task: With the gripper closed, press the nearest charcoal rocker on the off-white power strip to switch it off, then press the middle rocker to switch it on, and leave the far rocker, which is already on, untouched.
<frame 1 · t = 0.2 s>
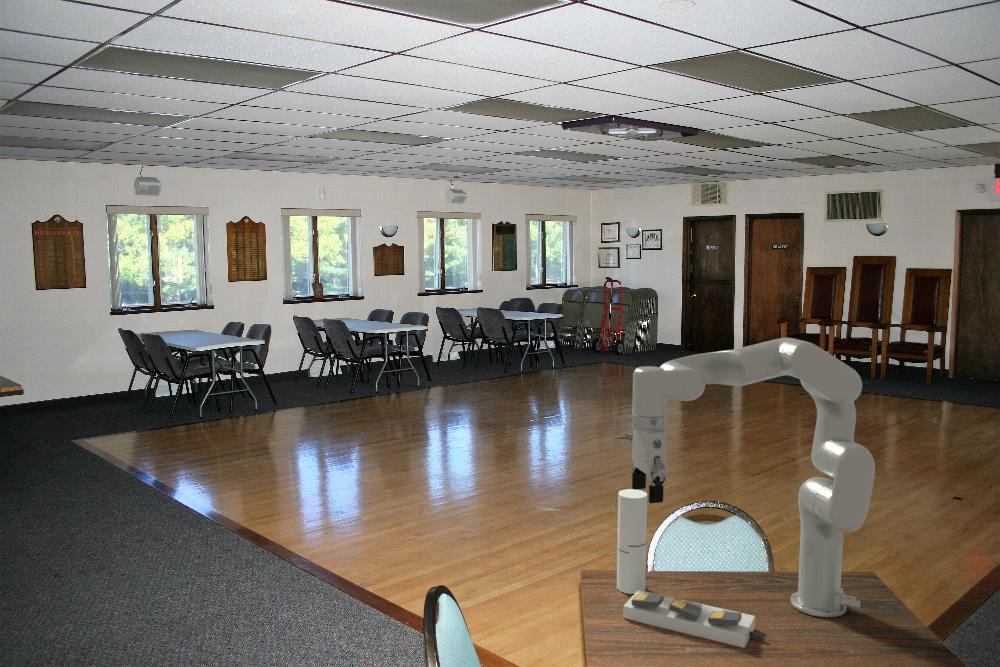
hand: (647, 495, 182), 31 cm above the table, tool pointing down, fingers open, 9 cm apart
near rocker: (724, 618, 179), point 5 cm above the table, hinge at 10.0°
far rocker: (647, 600, 188), point 5 cm above the table, hinge at 10.0°
power strip: (687, 623, 186), on the table
middle rocker: (685, 608, 184), point 5 cm above the table, hinge at -10.0°
cylindrical container: (630, 589, 205), on the table
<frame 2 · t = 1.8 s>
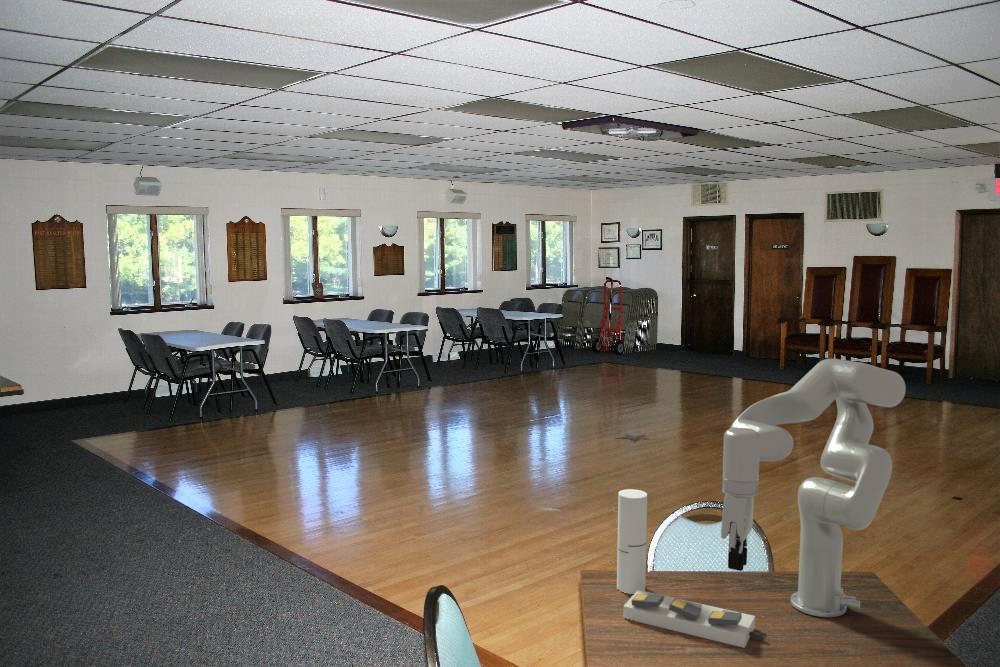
hand: (737, 565, 176), 17 cm above the table, tool pointing down, fingers closed
nothing on the table moved.
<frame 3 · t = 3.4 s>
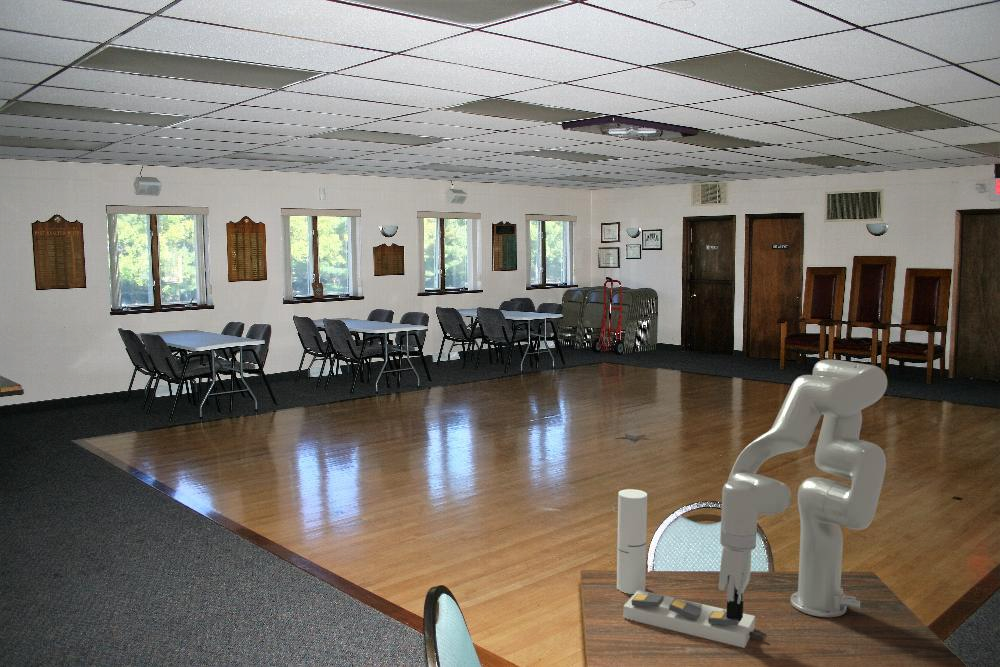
hand: (734, 618, 178), 5 cm above the table, tool pointing down, fingers closed
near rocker: (724, 618, 179), point 5 cm above the table, hinge at 9.8°, touching gripper
everything else where it was.
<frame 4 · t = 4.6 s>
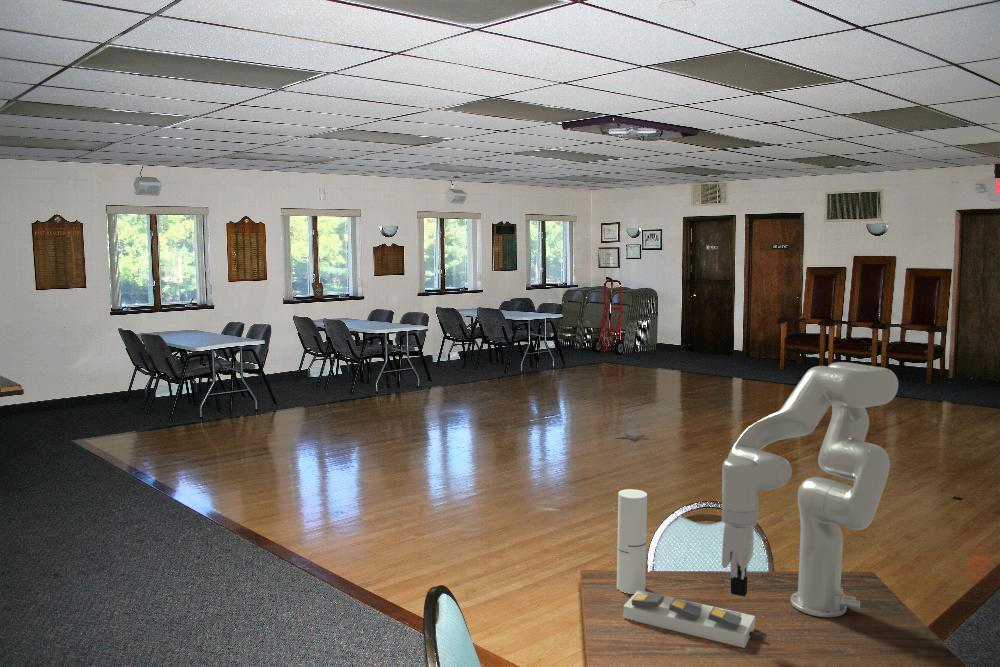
hand: (738, 593, 178), 11 cm above the table, tool pointing down, fingers closed
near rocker: (725, 618, 179), point 5 cm above the table, hinge at -9.0°
everything else where it was.
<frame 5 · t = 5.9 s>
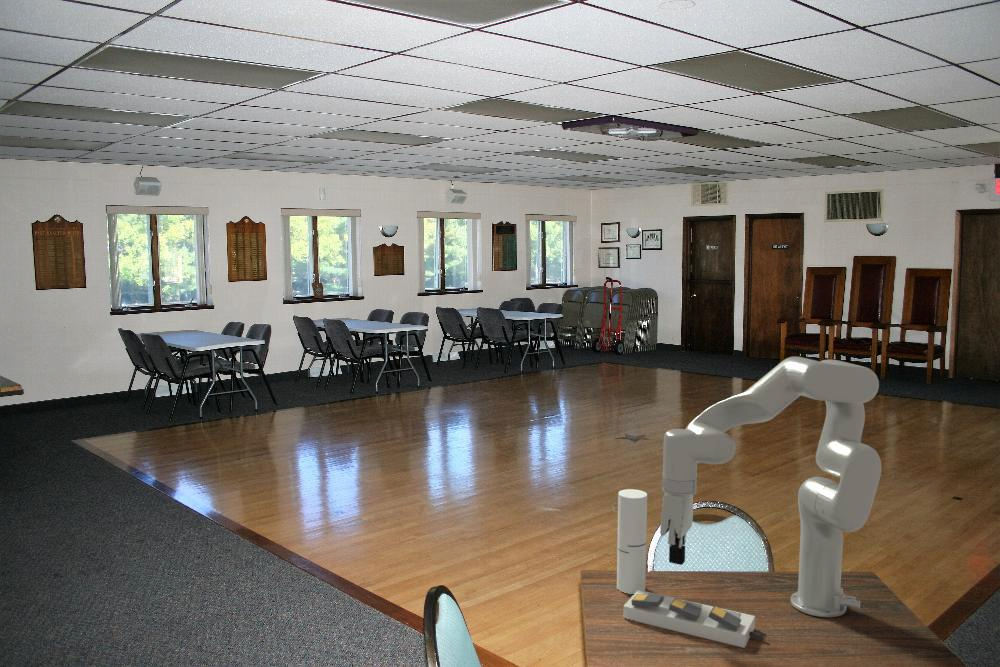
hand: (676, 562, 183), 15 cm above the table, tool pointing down, fingers closed
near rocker: (725, 618, 179), point 5 cm above the table, hinge at -18.0°, touching power strip
everything else where it was.
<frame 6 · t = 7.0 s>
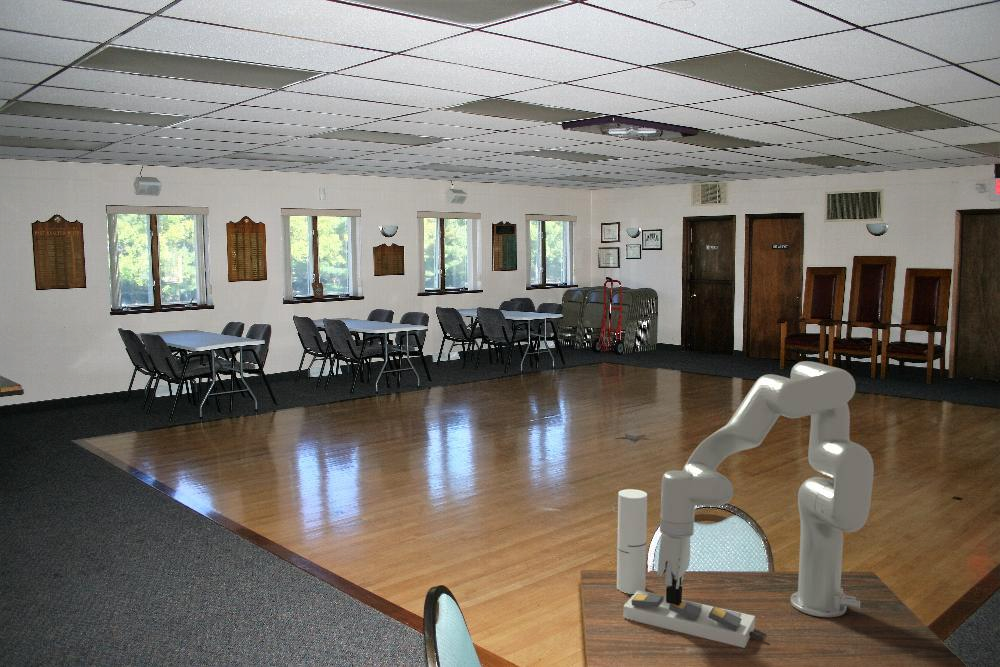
hand: (673, 602, 184), 6 cm above the table, tool pointing down, fingers closed
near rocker: (725, 618, 179), point 5 cm above the table, hinge at -14.8°
middle rocker: (685, 608, 184), point 5 cm above the table, hinge at -9.9°, touching gripper
everything else where it was.
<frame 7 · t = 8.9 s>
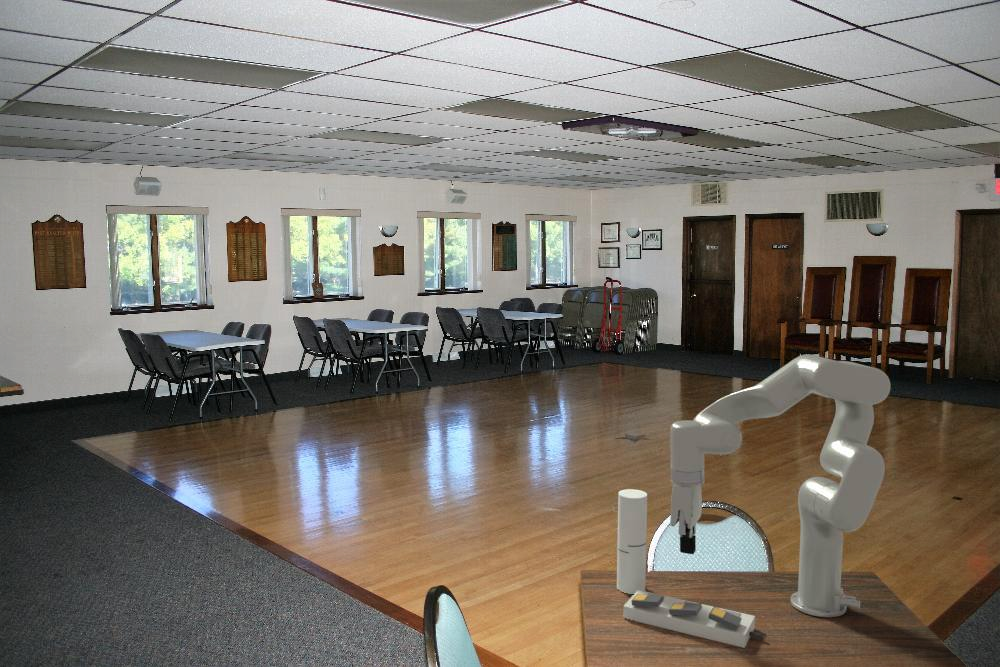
hand: (687, 552, 185), 17 cm above the table, tool pointing down, fingers closed
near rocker: (725, 618, 179), point 5 cm above the table, hinge at -12.0°
middle rocker: (685, 608, 184), point 5 cm above the table, hinge at 11.7°
everything else where it was.
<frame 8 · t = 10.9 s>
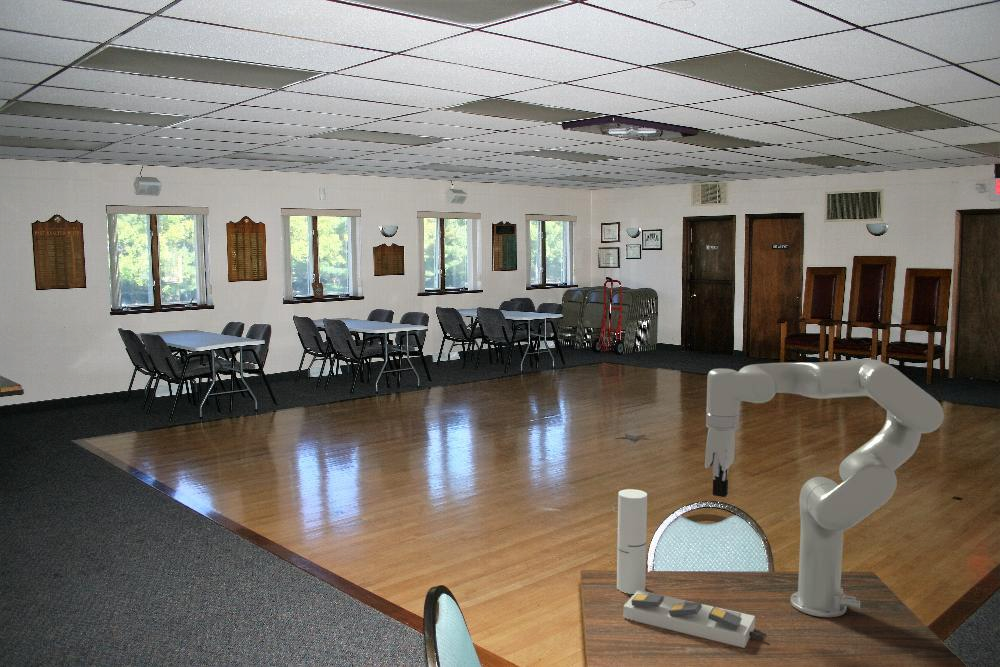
hand: (720, 495, 194), 27 cm above the table, tool pointing down, fingers closed
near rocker: (725, 618, 179), point 5 cm above the table, hinge at -10.8°
middle rocker: (685, 608, 184), point 5 cm above the table, hinge at 17.2°, touching power strip
everything else where it was.
at the end: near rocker at -11° (first picture: +10°); middle rocker at +17° (first picture: -10°); far rocker at +10° (first picture: +10°) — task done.
